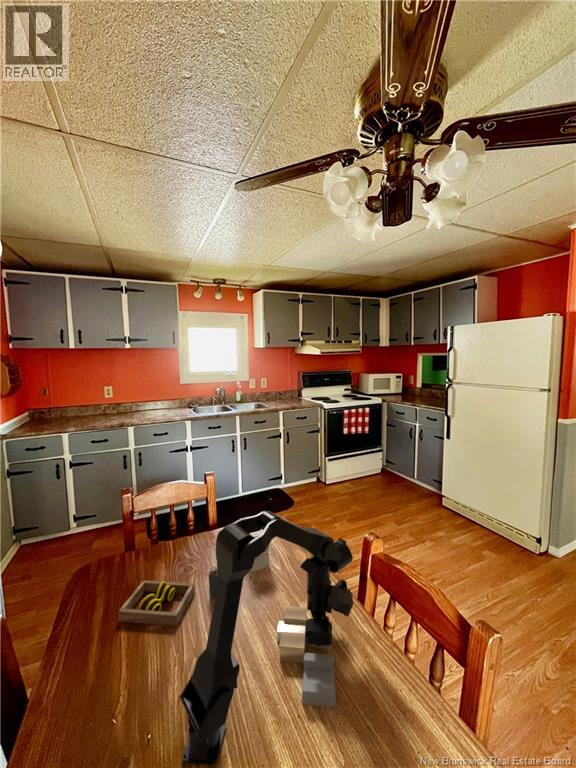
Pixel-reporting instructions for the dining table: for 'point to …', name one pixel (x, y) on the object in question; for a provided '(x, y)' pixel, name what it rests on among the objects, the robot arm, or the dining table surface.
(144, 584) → the valet tray
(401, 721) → the dining table surface
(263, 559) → the supplement box
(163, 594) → the yellow looped piece
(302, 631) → the bar
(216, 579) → the vaping device
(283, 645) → the wooden blocks
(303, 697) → the v cradle
